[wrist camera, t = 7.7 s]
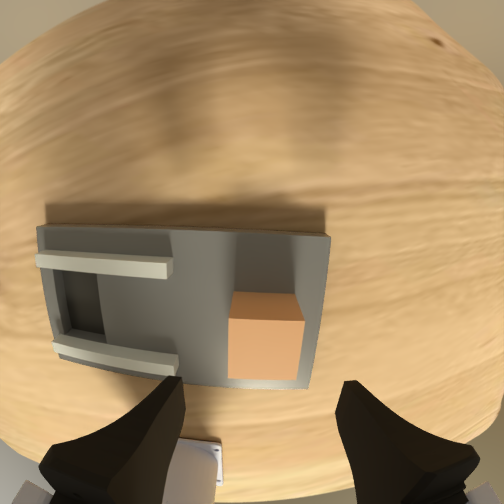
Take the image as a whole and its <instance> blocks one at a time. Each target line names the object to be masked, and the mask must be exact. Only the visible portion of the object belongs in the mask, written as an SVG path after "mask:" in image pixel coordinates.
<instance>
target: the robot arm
mask: <svg viewBox="0 0 504 504" xmlns="http://www.w3.org/2000/svg"><path fill="white" fill-rule="evenodd" d="M185 410H186V408H185V399H184V391H183V382H182V377H178V376H170V375H169V376H167V377H166V378H165V379H164V380H163V381H162V382H161V383H160V384H159V385H158V386H157V387H156V388H155V389H154V390H153V391H152V392H151V393H150V394H149V395H148V396H147V397H146V398H145V399H144V400H143V401H141V402H140V403H139V404H138V405H137V406H135V407H134V408H133V409H132V410H130V411H129V412H128V413H126V414H125V415H124V416H122V417H121V418H119V419H118V420H116V421H115V422H113V423H111V424H109V425H108V426H106V427H104V428H102V429H100V430H98V431H96V432H94V433H91V434H89V435H86V436H83V437H81V438H78V439H75V440H71V441H67V442H63V443H59V444H54V445H52V446H51V447H50V449H49V450H48V452H47V453H46V455H45V456H44V458H43V460H42V461H41V463H40V465H39V470H40V472H41V474H42V475H43V477H44V478H45V479H46V480H47V481H48V483H49V484H50V485H51V486H52V487H53V489H54V490H55V493H54V495H51V494H50V493H49V492H47V491H45V490H44V489H42V488H40V487H38V486H37V485H35V484H33V483H31V482H30V481H28V480H26V481H25V482H24V484H23V485H22V487H21V489H20V490H19V492H18V493H17V495H16V497H15V499H14V500H13V502H12V504H214V500H215V491H216V486H222V485H223V465H222V445H221V444H220V443H217V442H208V441H199V440H190V439H183V438H179V435H180V432H181V429H182V426H183V421H184V415H185ZM335 415H336V421H337V426H338V431H339V434H340V437H341V440H342V443H343V446H344V449H345V452H346V454H347V457H348V460H349V463H350V466H351V470H352V474H353V479H354V485H355V489H356V497H357V504H502V503H501V502H500V500H499V498H498V497H497V495H496V493H495V492H494V490H493V488H492V487H491V485H490V483H489V482H488V481H486V482H484V483H482V484H481V485H479V486H477V487H475V488H474V489H472V490H470V491H469V492H468V493H466V494H465V493H464V491H463V490H464V489H465V488H466V485H465V484H464V481H465V480H466V478H467V477H468V476H469V475H470V474H471V473H472V472H473V471H474V470H475V468H476V467H477V465H478V463H479V461H480V457H479V455H478V454H477V452H476V451H475V450H474V448H473V447H472V446H471V445H467V444H462V443H457V442H453V441H450V440H447V439H443V438H441V437H438V436H435V435H433V434H431V433H428V432H426V431H424V430H422V429H420V428H418V427H416V426H414V425H413V424H411V423H409V422H408V421H406V420H404V419H403V418H401V417H400V416H399V415H397V414H396V413H394V412H393V411H392V410H390V409H389V408H388V407H387V406H385V405H384V404H383V403H382V402H381V401H379V400H378V399H377V398H376V397H375V396H374V395H373V394H372V393H370V392H369V391H368V390H367V389H366V388H365V387H364V386H363V385H362V384H360V383H359V382H358V381H357V380H353V381H344V384H343V387H342V391H341V394H340V398H339V401H338V404H337V407H336V411H335Z"/></svg>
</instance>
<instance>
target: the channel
mask: <svg viewBox="0 0 504 504" xmlns="http://www.w3.org/2000/svg"><path fill="white" fill-rule="evenodd" d="M36 230H37V243H38V253H36V254H35V261H36V267H40V270H41V277H42V283H43V289H44V295H45V300H46V306H47V310H48V315H49V320H50V324H51V328H52V332H53V336H54V340H53V341H52V346H53V349H54V352H56V353H58V354H59V357H60V358H61V359H64V360H68V361H71V362H75V363H79V364H82V365H86V366H90V367H95V368H99V369H103V370H107V371H112V372H117V373H122V374H127V375H132V376H137V377H143V378H149V379H155V380H162V381H163V380H164V379H165V378H166V377H167V376H169V375H170V376H178V377H182V382H183V383H184V384H193V385H203V386H214V387H227V388H244V389H308V388H309V383H310V378H311V373H312V368H313V363H314V357H315V352H316V346H317V340H318V334H319V328H320V322H321V316H322V309H323V302H324V295H325V287H326V280H327V271H328V263H329V254H330V244H331V237H330V236H329V235H327V234H325V233H309V232H292V231H274V230H255V229H233V228H210V227H183V226H150V225H105V224H45V225H41V226H37V227H36ZM234 291H236V292H257V293H283V294H295V295H296V298H297V301H298V303H299V306H300V309H301V311H302V314H303V317H304V319H305V326H304V333H303V340H302V347H301V353H300V360H299V366H298V372H297V378H296V380H253V379H233V378H228V323H229V313H230V308H231V302H232V297H233V292H234Z"/></svg>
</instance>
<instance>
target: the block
mask: <svg viewBox="0 0 504 504" xmlns="http://www.w3.org/2000/svg"><path fill="white" fill-rule="evenodd" d="M304 326H305V319H304V317H303V314H302V311H301V309H300V306H299V303H298V301H297V298H296V295H295V294H283V293H257V292H236V291H234V292H233V297H232V302H231V308H230V313H229V323H228V378H233V379H253V380H296V378H297V372H298V366H299V360H300V353H301V347H302V340H303V333H304Z"/></svg>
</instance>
